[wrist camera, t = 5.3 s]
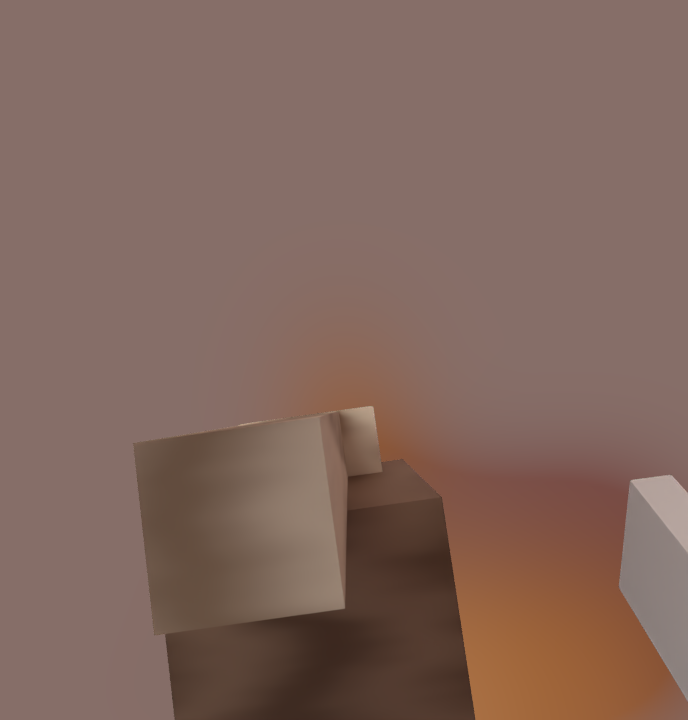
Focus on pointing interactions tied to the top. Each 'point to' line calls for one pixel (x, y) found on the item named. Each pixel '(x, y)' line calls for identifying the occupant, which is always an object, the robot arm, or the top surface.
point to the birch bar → (251, 517)
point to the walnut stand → (347, 629)
